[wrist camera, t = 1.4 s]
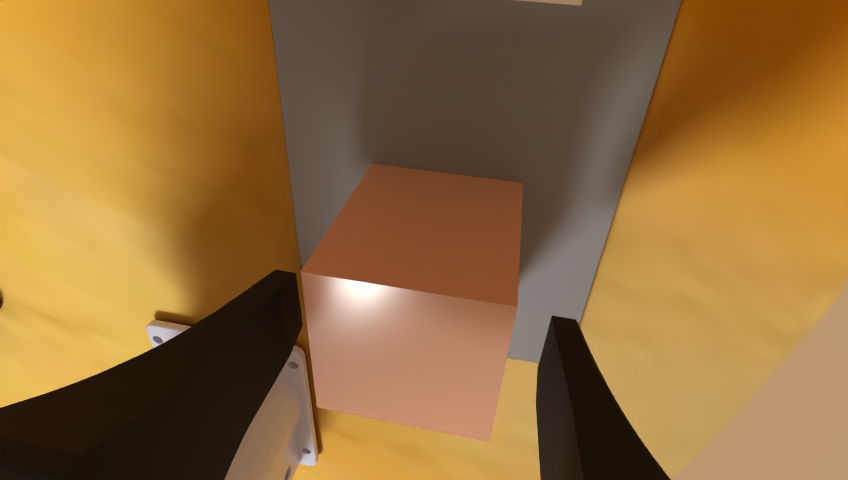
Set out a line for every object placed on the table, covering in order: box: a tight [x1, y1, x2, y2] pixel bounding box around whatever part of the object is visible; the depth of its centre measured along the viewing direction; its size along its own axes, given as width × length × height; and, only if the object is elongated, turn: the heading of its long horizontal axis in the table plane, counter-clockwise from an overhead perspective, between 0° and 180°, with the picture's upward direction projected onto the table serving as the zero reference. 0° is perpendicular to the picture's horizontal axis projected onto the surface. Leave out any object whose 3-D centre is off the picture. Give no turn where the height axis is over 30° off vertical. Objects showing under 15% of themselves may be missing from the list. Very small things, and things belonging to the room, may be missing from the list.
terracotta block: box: [300, 163, 523, 442], centre depth 15 cm, size 5×5×6 cm
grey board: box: [268, 0, 682, 363], centre depth 14 cm, size 22×11×1 cm, turn 178°
